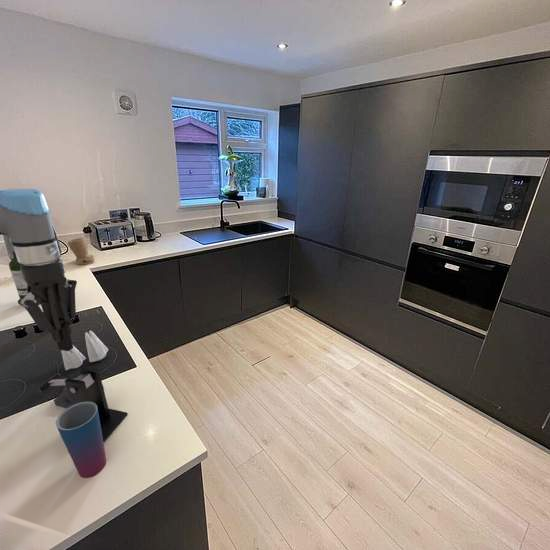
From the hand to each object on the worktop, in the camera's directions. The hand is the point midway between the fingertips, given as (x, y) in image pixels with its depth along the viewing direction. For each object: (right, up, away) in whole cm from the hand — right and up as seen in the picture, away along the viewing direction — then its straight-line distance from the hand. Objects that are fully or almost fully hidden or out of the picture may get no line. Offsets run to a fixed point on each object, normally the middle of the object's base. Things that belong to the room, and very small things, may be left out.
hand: (66, 348), depth 73 cm
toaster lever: (+5, -8, -5) cm, 10 cm away
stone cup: (-68, +27, +108) cm, 130 cm away
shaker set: (-7, -10, +20) cm, 23 cm away
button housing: (0, -15, +6) cm, 16 cm away
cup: (+14, -23, -11) cm, 29 cm away
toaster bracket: (+9, -19, -2) cm, 21 cm away
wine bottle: (-56, +6, +56) cm, 79 cm away
